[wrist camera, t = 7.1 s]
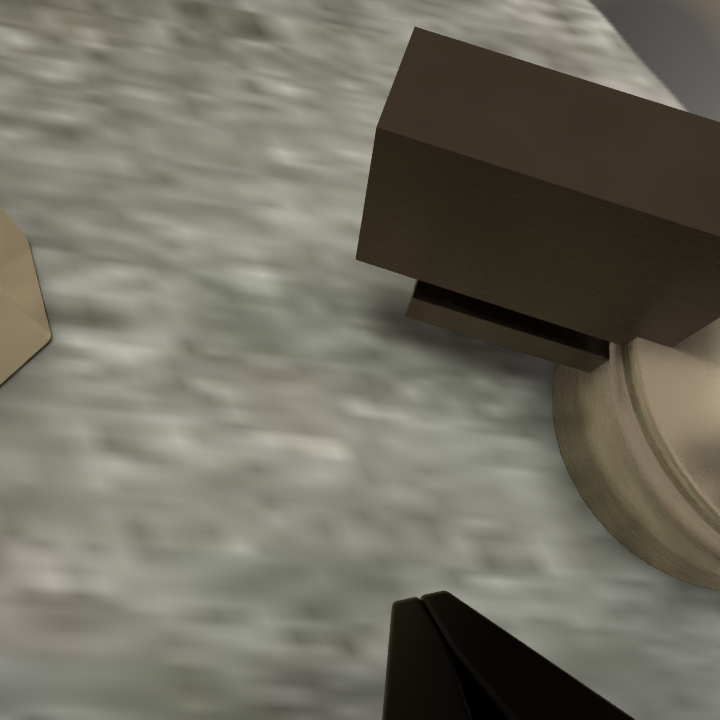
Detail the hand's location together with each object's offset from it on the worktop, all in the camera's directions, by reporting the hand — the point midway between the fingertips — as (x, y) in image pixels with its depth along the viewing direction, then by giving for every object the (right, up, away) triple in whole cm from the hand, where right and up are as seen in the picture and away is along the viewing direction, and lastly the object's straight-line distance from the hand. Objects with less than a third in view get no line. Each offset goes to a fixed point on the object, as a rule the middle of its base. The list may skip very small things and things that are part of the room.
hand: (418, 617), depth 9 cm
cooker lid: (+10, +5, +10) cm, 15 cm away
